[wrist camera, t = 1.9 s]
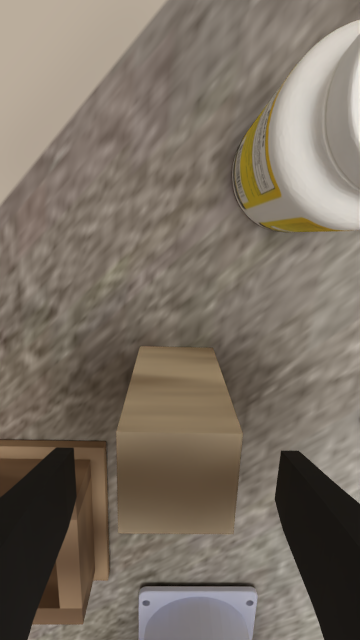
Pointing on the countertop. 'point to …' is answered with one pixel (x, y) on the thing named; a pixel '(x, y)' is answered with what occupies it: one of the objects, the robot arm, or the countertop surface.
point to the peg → (177, 446)
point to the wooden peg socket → (84, 529)
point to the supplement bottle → (307, 144)
